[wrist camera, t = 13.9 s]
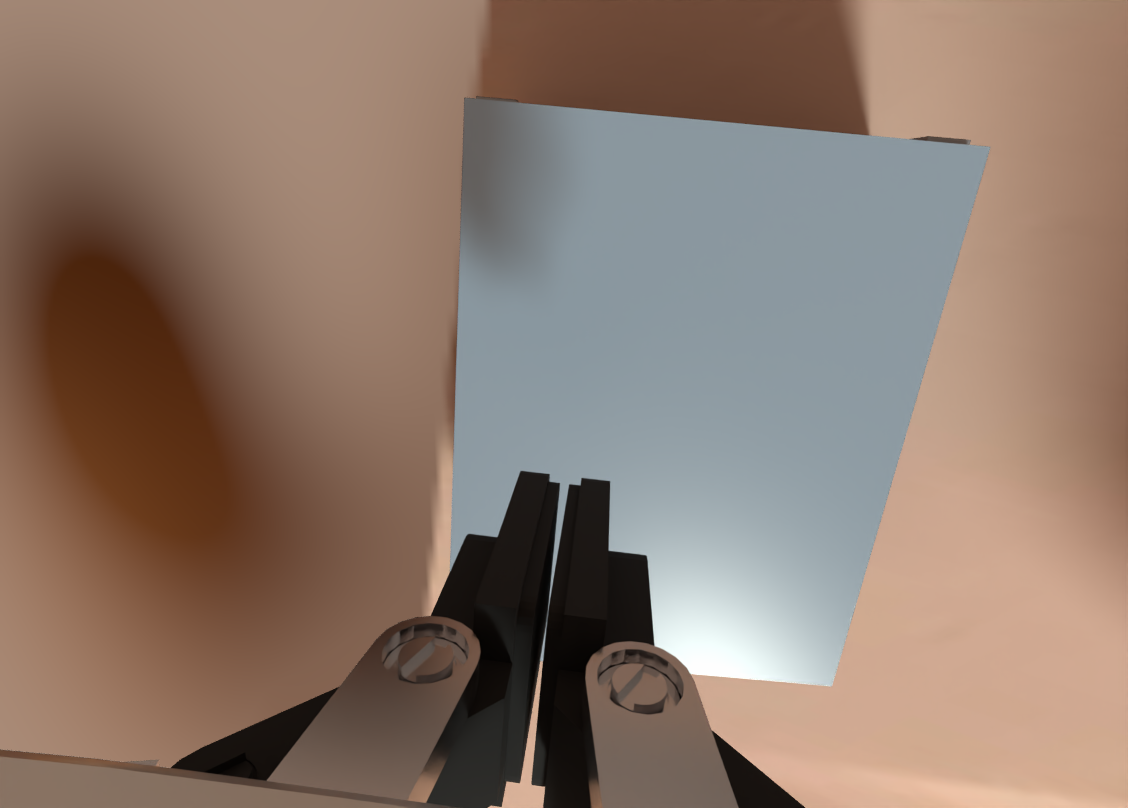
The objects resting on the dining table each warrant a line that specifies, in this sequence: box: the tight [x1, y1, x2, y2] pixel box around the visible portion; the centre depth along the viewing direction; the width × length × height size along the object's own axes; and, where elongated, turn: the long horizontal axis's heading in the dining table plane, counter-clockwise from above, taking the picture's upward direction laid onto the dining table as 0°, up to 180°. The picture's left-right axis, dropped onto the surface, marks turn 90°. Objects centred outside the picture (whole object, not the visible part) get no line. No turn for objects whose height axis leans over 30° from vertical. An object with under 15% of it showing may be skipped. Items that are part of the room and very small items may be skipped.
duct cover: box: [450, 98, 990, 686], centre depth 17 cm, size 16×12×1 cm
